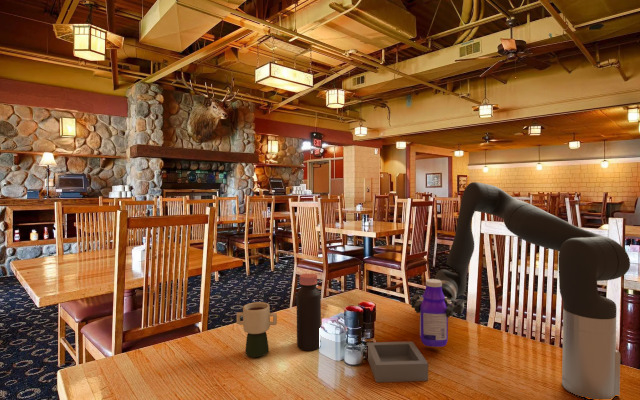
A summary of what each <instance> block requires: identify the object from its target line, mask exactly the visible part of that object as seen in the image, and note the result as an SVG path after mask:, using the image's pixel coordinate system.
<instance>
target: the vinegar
mask: <svg viewBox="0 0 640 400" xmlns="http://www.w3.org/2000/svg"><path fill="white" fill-rule="evenodd" d="M317 285H318V275H317V274H316V273H302V274H300V275H299V286H300V288H299V289H298V291H297V292H296V295H295V296H296V297H295V298H296V299H295V300H296V346H297V348H298V349H299V350H301V351H304V352H305V351H306V352H311V351H316V350H318V349H320V348H319V328H320V327H321V328H322V307H321V306H322V304H321V303H322V298H321V296H322V294H321V292H320V291H319V289H318V288H317Z"/></svg>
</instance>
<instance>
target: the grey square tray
mask: <svg viewBox="0 0 640 400" xmlns="http://www.w3.org/2000/svg"><path fill="white" fill-rule="evenodd" d="M367 346H368V359H367V361H368V363H369V366H370V369H371V372H372V375H373V377H374V380H375V383H398V382H400V383H401V382H428V381H429V363H428V361H427V360H426V358H425V357H424V355H423V354H422V352H421V351H420V349H419V348H418V347H417V345H416V343H414V341H413V340H412V341H383V342H381V341H379V342H377V341H375V342H372V341H371V342H366V347H367Z"/></svg>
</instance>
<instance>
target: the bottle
mask: <svg viewBox="0 0 640 400" xmlns="http://www.w3.org/2000/svg"><path fill="white" fill-rule="evenodd" d="M422 297H423V298H424V299H423V301H422V303H421V305H420V313H419V339H420V340H421V343H422V344H423V345H424V346H427V347H435V348H437V347H439V348H441V347H445V346H446V345H447V343H448V340H449V339H448V337H449V336H448V334H449V333H448V331H449V329H448V328H449V323H448V322H449V320H448V319H449V317H446V309H447V306H446V304H445V302H444V299H445V296H444V294H443V292H442V283H441V281H440V280H437V279H435V278H430V279H429V278H428V279H426V280H425V290H424V292H423V294H422Z"/></svg>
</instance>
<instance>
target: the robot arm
mask: <svg viewBox="0 0 640 400" xmlns="http://www.w3.org/2000/svg"><path fill="white" fill-rule="evenodd" d="M475 212H478V213H484V214H489V215H493V216H496V217H498V218H500V219H502V220H503V223H504V226H505V228H506V229H507V230H508V231H509V232H510V233H512V234H513V235H515V236H516V237H518V238H519V239H521V240H523V241H525V242H527V243H530V244H532V245H535V246H539V247H541V248H545V249H549V250H553V251H557V252H558V256H557V257H558V258H557V259H558V266H557V267H558V280H559V283H558V285H559V286H558V287H559V294H560V296H561V298H562V304H563V305H562V309H563V310H562V358H561V359H562V363H561V364H562V368H561V371H562V372H561V373H562V374H561V385H562V387H563V388H564V389H565V390H566V391H568V393H570V392H571V393H570V394H572V393H573V394H572V395H574V394H575V395H574V396H576V395H578V396H577V397H579V396H583V397H588V398H592V399H611V398H613V397H614V396H615V395H619V396H620V395H621V394H620V392H621V391H620V390H621V389H620V388H621V386H620V385H621V383H620V382H621V353H620V351H619V350H617V310H618V309H617V304H616V303H615V301H614V300H612V299H610V298H608V297H606V296H602V295H600V294H599V289H598V282H600V281H601V282H602V281H606V282H607V281H612V280H616V279H619V278H621V277H623V276H625V275H626V274H627V273H628V272H629V270H630V267H631V260H630V256H629V255H628V253H627V251H626V249H625V248H624V247H623V246H622V245H621V244H620V243H618V242H617V241H616V240H614V239H611V238H610V237H607V236H604V235H601V234H598V233H596V232H592V231H590V230H587V229H584V228H582V227H578V226H576V225H574V224H572V223H570V222H568V221H566V220H564V219H562V218H560V217H559V216H555V215H554V214H551V213H549V212H547V211H545V210H544V209H542V208H540V207H537V206H535V205H534V204H531V203H528V202H526V201H523V200H521V199H518V198H515V197H513V196H512V195H510V194H509V193H507V192H506V191H504V190H503V189H502V188H500V187H498V186H496V185H492V184H489V183H482V182H477V181H473V182H470V183H469V184H467V185H466V187H465V189H464V191H463V193H462V197H461V201H460V206H459V211H458V217H457V223H456V228H455V229H456V230H455V234H454V238H453V241H452V244H451V248H450V250H449V253H448V256H447V257H446V258H447V259H446V264H447V265H448V266H449V267H450V268H452V269H453V270H454V271H456V273H455V272H452V271H450V270H447V269H440V270H438V271H437V272H436V273H435V276H434V279H437V280H440V281H441V283H442V292H443V294H444V296H445V299H444V302H445V304H446V306H447V309H446V317H448V318H450V317H452V316H453V315H454V314H455V313H456V314H457V315H462V314H463V311H464V310H465V300H464V299H463V298H460V299H457V300H456V298H457V297H460V296H463V294H465V292H466V289H467V275H468V274H467V273H468V268H469V264H470V263H471V260H472V257H473V254H474V251H475V238H474V235H473V229H472V221H473V217H474V214H475ZM423 299H424V298H423V296H422V297H421V295H420V294H419V293H415V294H414V295H413V296H412V298H411V299H410V300H411V308H412V309H414V312H415V313H416V314H420V305H421V303H422V301H423Z"/></svg>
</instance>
